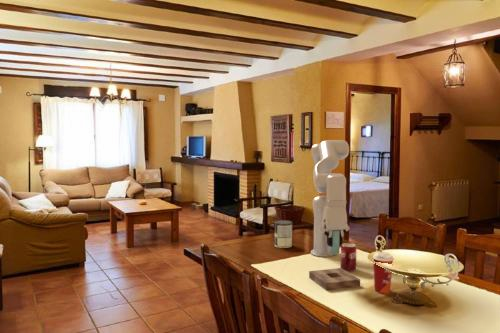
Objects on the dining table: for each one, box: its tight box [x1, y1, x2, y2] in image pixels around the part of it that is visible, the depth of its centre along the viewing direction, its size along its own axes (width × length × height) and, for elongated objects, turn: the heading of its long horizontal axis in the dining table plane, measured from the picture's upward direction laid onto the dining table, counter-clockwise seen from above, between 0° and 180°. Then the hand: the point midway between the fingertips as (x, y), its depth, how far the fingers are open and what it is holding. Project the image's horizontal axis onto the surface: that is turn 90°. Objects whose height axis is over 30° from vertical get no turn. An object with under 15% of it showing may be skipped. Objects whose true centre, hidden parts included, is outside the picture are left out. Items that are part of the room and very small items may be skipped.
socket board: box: [308, 267, 361, 291], centre depth 178 cm, size 16×16×3 cm
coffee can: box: [274, 219, 293, 249], centre depth 238 cm, size 10×10×14 cm
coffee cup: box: [372, 252, 395, 294], centre depth 168 cm, size 8×8×15 cm
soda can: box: [340, 242, 358, 273], centre depth 195 cm, size 7×7×12 cm
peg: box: [330, 230, 340, 255], centre depth 177 cm, size 4×4×10 cm
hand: (334, 245), depth 177 cm, fingers closed on peg, 4 cm apart
